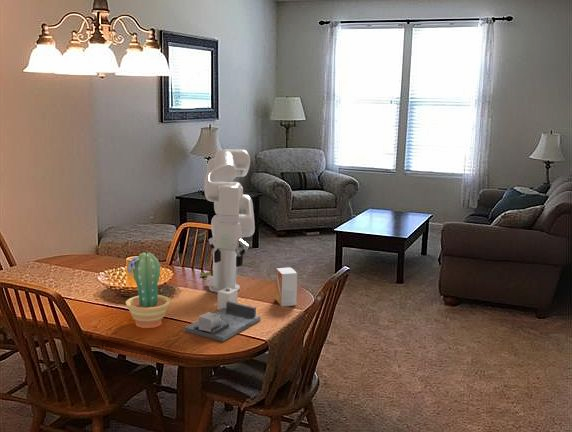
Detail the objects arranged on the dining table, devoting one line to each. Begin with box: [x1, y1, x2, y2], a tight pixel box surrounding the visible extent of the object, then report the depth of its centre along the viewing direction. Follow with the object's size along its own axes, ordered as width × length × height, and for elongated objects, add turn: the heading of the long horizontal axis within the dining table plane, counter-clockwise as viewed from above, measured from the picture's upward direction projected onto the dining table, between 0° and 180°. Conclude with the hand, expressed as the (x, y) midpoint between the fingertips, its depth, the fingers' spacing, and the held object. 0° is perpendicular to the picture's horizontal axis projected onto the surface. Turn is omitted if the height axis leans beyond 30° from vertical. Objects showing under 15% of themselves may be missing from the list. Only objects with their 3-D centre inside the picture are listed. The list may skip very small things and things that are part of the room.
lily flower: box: [199, 265, 213, 280], centre depth 275 cm, size 12×12×5 cm
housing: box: [217, 288, 239, 310], centre depth 235 cm, size 5×6×8 cm
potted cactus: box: [125, 252, 172, 329], centre depth 216 cm, size 15×15×25 cm
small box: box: [275, 267, 298, 307], centre depth 243 cm, size 8×6×13 cm
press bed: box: [184, 301, 261, 342], centre depth 218 cm, size 16×23×4 cm
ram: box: [198, 311, 221, 332], centre depth 211 cm, size 5×8×4 cm, turn 151°
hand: (228, 263), depth 232 cm, fingers open, 9 cm apart
